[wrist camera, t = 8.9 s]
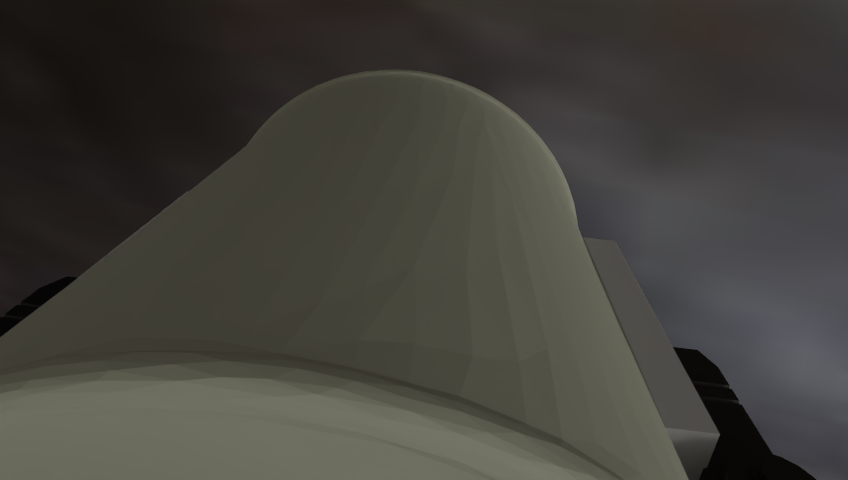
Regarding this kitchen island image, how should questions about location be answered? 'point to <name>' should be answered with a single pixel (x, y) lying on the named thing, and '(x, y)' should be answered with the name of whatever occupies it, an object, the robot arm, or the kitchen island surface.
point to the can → (343, 315)
